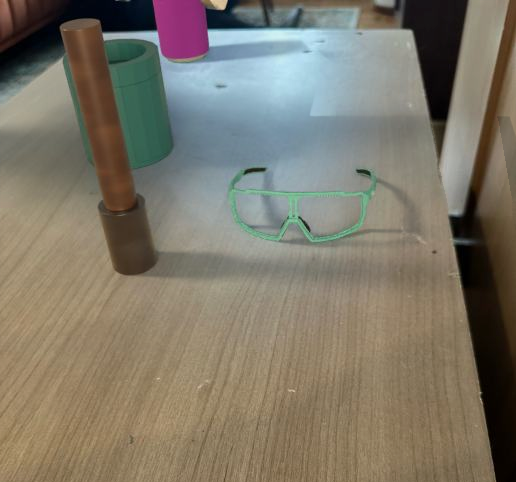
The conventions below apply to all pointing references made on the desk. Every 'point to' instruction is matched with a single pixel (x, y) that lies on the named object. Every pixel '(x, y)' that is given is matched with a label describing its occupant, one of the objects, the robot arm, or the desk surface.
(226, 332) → the desk surface
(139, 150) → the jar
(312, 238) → the sunglasses
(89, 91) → the brown wooden rod
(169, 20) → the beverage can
